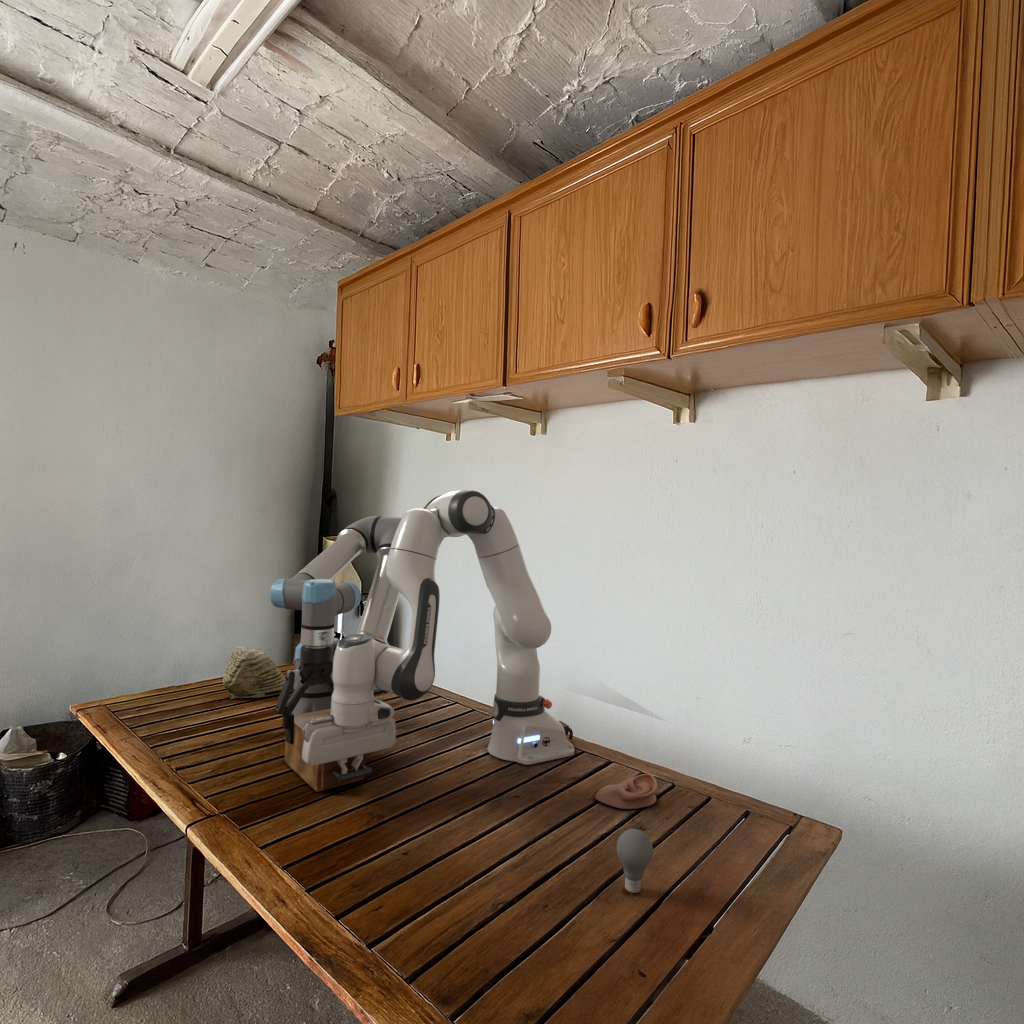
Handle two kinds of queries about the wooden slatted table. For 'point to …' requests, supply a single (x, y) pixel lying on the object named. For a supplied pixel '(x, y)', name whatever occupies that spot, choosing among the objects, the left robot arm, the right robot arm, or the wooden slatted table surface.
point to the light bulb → (634, 857)
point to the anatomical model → (630, 793)
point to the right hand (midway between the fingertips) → (349, 775)
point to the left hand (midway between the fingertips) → (313, 736)
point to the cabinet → (295, 750)
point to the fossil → (252, 674)
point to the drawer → (334, 778)
